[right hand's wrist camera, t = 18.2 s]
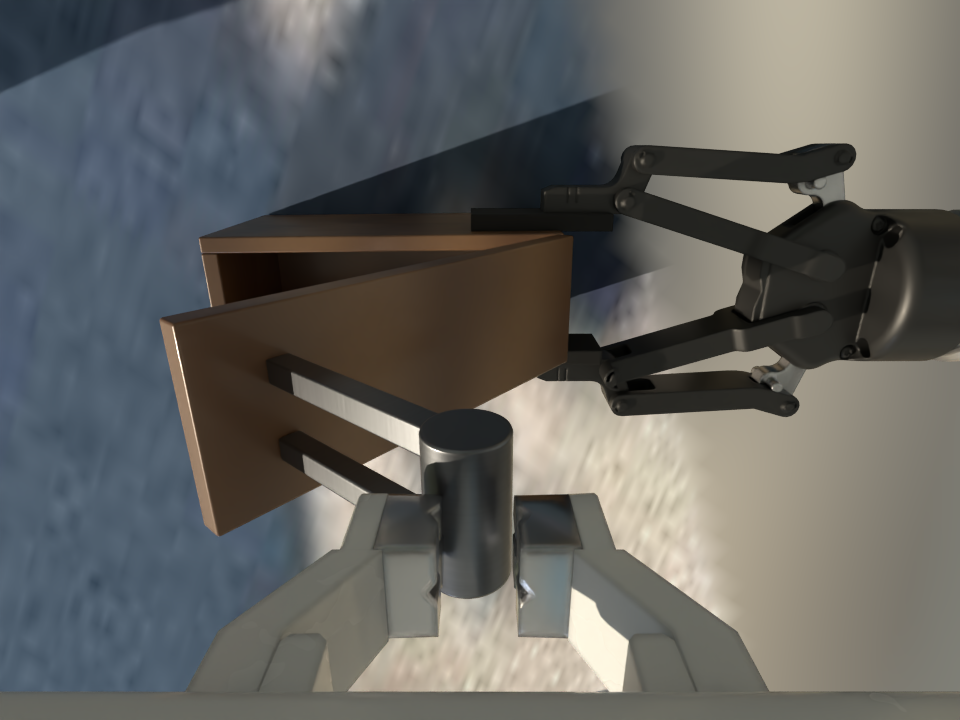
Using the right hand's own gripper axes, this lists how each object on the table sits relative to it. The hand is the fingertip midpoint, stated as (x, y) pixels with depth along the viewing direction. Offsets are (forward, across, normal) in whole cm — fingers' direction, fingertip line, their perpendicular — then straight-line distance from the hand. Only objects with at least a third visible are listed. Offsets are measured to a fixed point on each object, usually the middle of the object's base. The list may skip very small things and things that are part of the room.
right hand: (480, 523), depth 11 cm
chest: (+25, -4, 0) cm, 26 cm away
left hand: (+19, 0, 0) cm, 19 cm away
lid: (+10, -2, 0) cm, 10 cm away
